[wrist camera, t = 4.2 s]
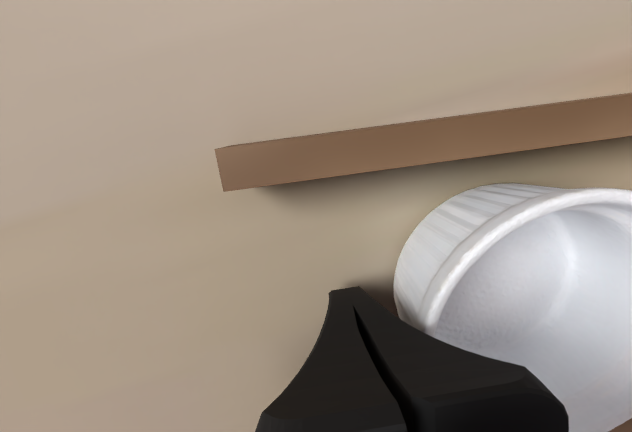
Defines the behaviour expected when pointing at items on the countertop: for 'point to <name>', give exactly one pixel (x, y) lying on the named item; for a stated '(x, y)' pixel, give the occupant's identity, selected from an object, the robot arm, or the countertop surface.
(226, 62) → the countertop surface
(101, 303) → the countertop surface
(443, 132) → the channel
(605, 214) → the ramekin
